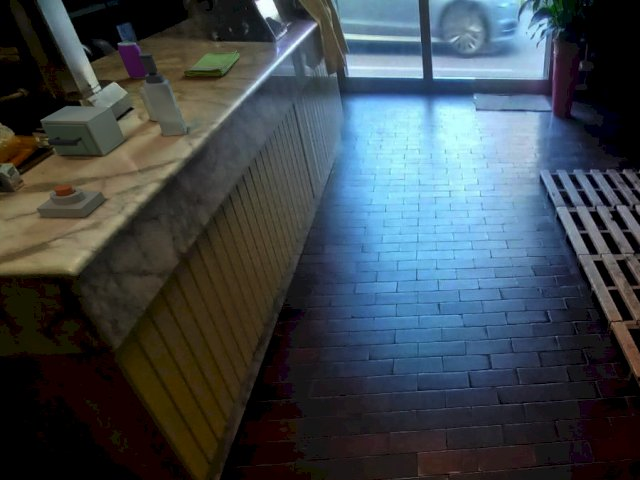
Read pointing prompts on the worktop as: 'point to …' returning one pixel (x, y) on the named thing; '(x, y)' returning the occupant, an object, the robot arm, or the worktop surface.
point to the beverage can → (132, 59)
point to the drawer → (70, 138)
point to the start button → (64, 190)
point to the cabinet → (91, 125)
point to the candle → (147, 104)
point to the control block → (71, 204)
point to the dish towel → (213, 65)
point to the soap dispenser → (162, 99)
